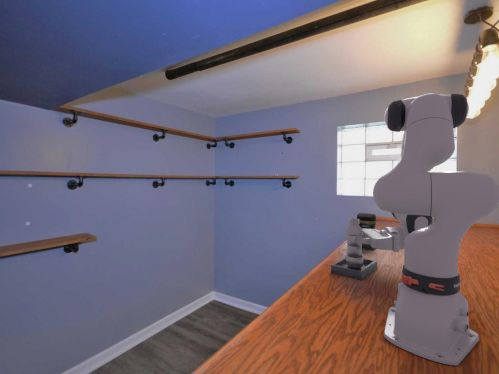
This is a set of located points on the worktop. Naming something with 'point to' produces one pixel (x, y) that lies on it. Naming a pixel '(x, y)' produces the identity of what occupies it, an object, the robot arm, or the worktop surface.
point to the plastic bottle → (354, 244)
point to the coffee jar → (367, 225)
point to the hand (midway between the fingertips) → (353, 237)
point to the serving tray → (361, 273)
